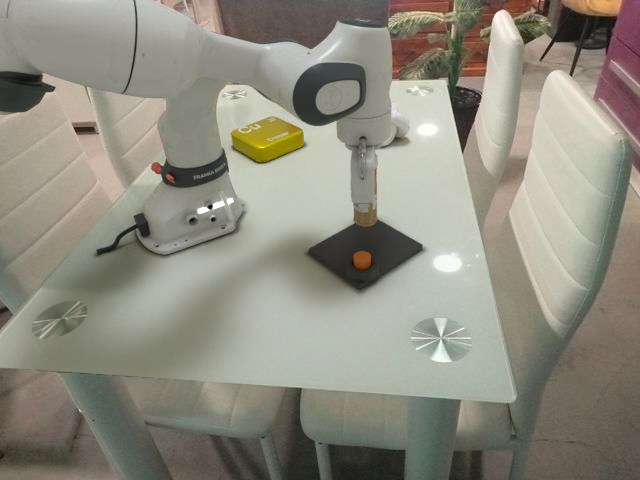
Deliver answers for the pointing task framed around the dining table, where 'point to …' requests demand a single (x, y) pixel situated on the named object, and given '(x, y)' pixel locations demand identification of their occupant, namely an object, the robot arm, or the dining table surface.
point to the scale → (376, 240)
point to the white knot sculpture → (397, 124)
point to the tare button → (362, 260)
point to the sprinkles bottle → (370, 214)
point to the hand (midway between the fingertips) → (364, 197)
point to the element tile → (267, 139)
